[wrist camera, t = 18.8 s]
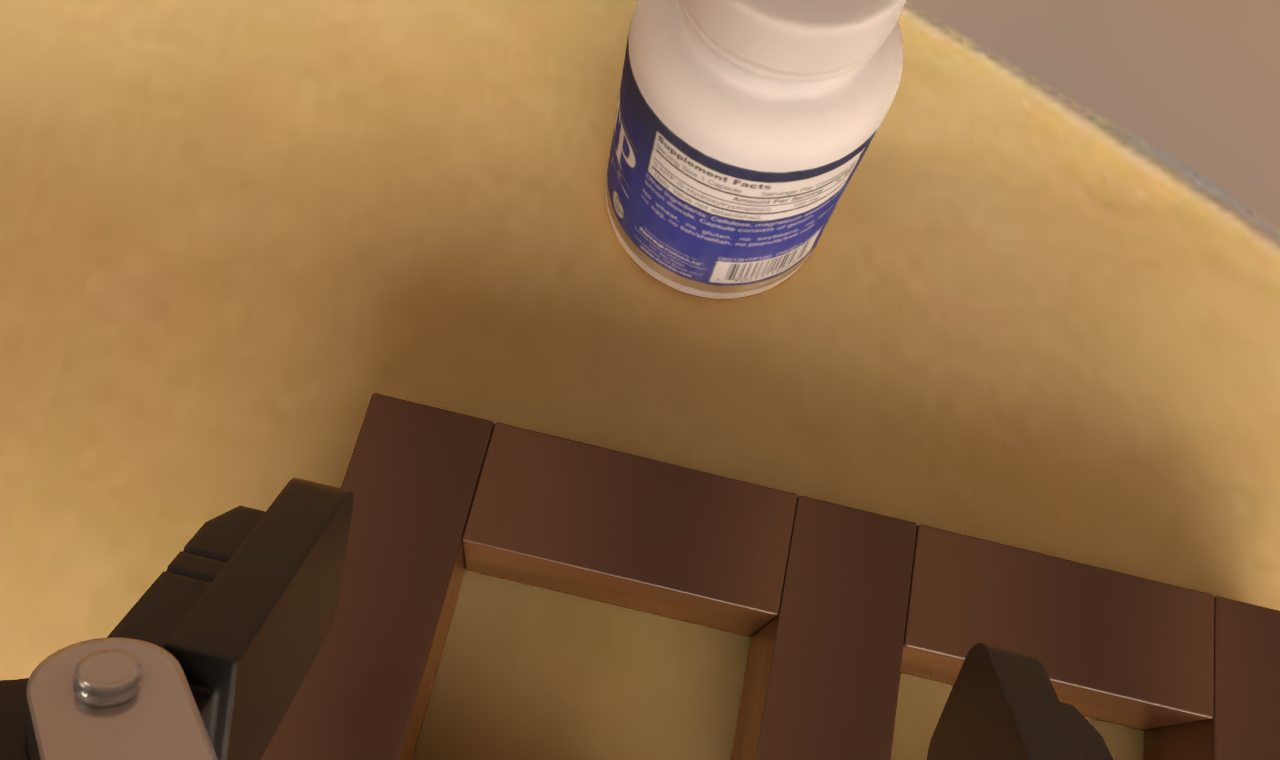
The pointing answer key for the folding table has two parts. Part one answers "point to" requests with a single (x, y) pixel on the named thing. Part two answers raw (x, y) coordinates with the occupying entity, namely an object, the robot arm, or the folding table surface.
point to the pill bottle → (744, 132)
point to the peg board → (750, 599)
